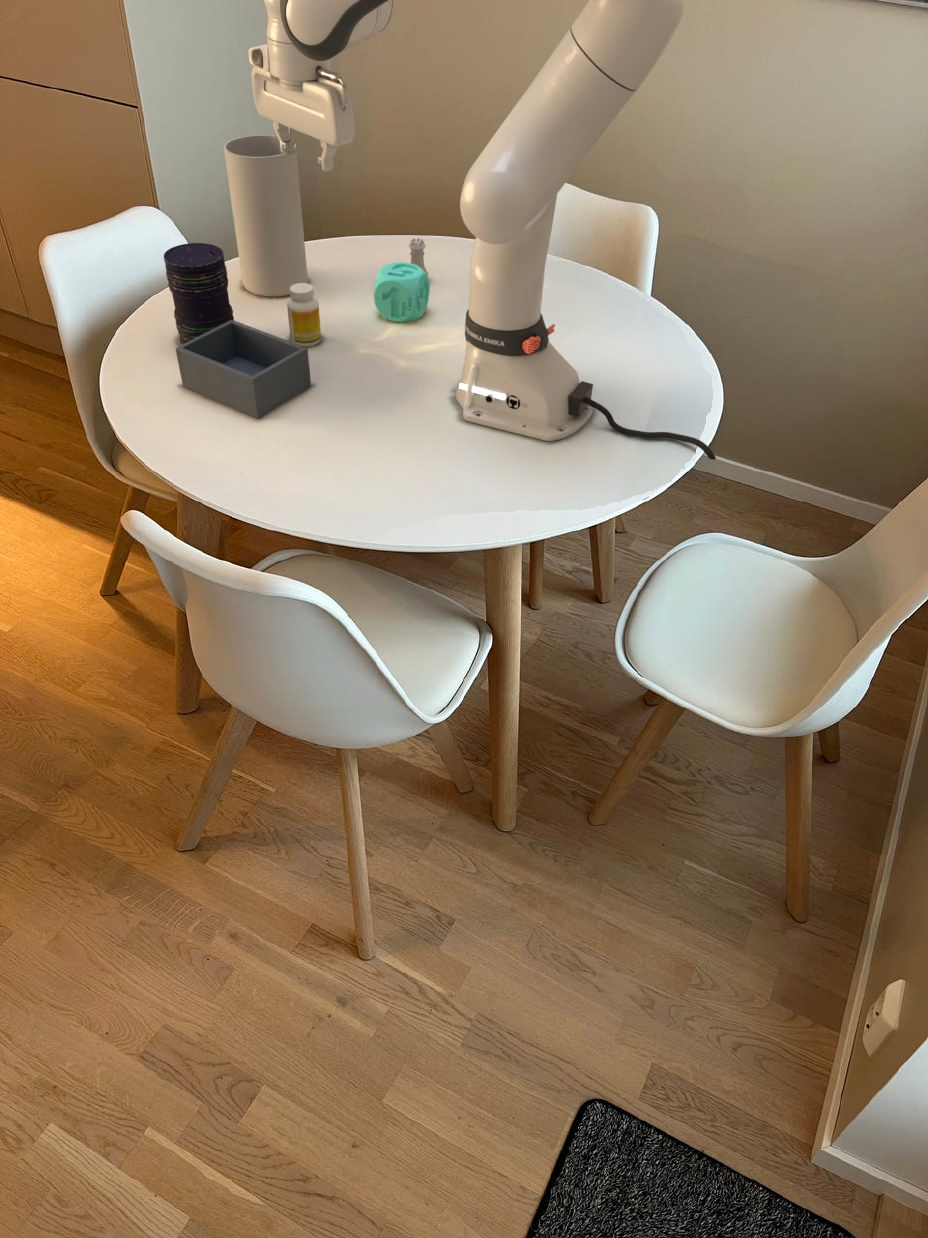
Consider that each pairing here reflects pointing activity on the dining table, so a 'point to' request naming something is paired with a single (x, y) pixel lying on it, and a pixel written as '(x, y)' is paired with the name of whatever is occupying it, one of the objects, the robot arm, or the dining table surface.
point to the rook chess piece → (417, 253)
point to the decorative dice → (401, 292)
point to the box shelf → (244, 368)
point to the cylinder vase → (266, 214)
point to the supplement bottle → (303, 315)
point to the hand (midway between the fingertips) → (306, 161)
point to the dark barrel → (198, 288)
